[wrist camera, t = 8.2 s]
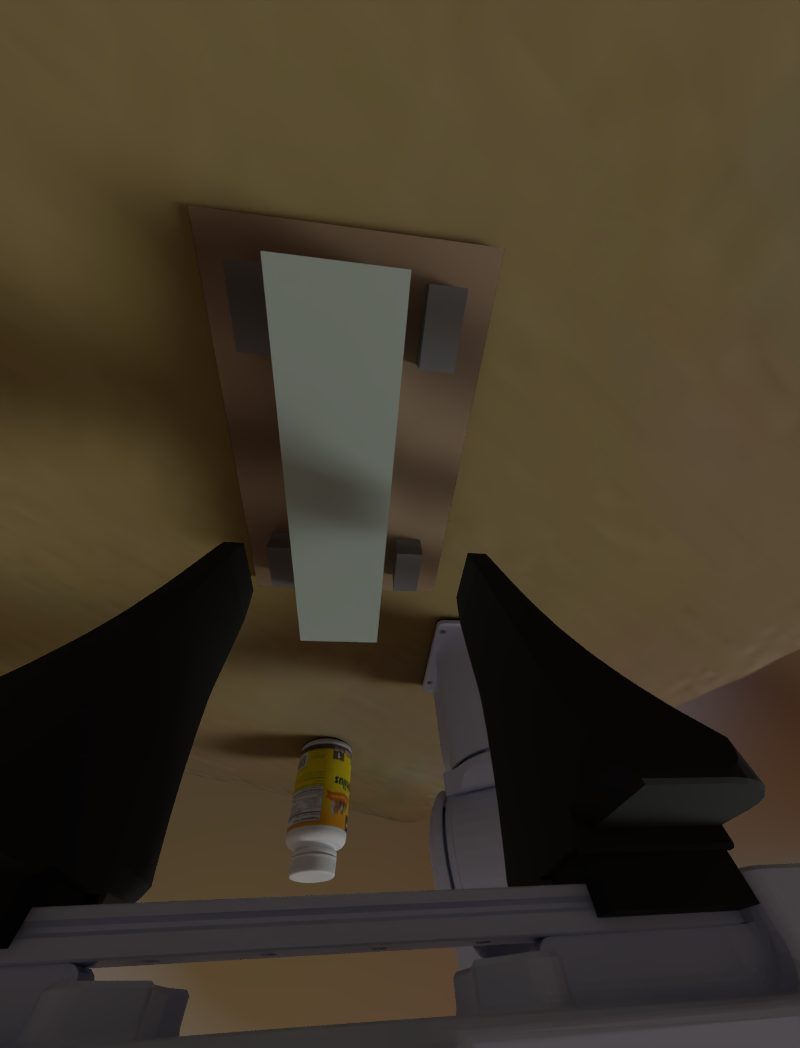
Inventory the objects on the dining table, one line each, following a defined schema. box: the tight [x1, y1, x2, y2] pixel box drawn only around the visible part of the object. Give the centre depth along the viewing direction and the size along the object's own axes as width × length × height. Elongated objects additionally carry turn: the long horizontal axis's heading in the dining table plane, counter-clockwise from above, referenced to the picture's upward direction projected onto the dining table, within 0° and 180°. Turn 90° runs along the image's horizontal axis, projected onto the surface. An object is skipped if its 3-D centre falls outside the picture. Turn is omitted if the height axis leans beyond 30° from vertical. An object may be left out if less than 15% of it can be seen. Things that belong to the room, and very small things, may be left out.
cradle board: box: [187, 205, 505, 592], centre depth 18 cm, size 19×12×2 cm, turn 174°
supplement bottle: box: [286, 738, 352, 883], centre depth 33 cm, size 6×6×10 cm
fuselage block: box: [260, 251, 411, 643], centre depth 16 cm, size 16×4×6 cm, turn 174°
